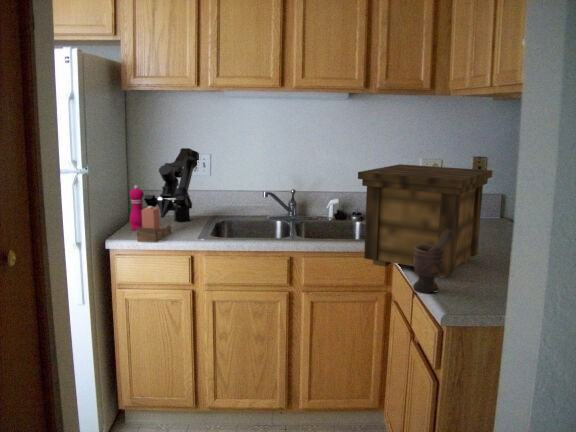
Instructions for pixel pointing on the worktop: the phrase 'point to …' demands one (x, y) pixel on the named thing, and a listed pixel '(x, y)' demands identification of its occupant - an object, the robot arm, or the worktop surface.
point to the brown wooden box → (152, 234)
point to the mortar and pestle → (429, 263)
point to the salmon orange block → (150, 218)
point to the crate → (422, 212)
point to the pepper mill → (136, 208)
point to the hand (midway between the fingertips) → (162, 217)
